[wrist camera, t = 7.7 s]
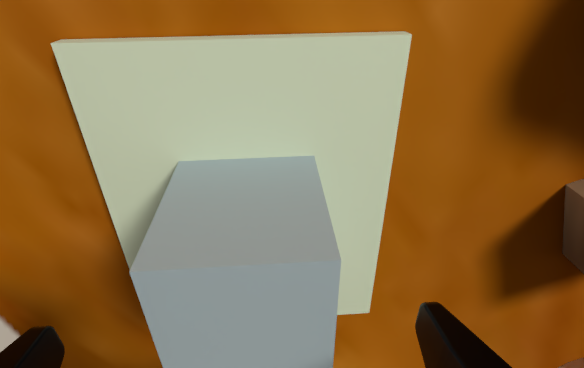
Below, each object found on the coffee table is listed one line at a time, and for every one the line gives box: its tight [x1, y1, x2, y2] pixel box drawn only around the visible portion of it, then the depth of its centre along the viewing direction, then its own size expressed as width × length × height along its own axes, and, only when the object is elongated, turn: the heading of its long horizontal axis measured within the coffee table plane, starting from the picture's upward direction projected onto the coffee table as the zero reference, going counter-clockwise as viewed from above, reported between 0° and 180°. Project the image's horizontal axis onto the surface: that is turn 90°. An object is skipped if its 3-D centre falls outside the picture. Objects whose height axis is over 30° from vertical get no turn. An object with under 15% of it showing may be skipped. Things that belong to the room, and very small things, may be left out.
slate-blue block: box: [129, 156, 341, 368], centre depth 11 cm, size 4×4×5 cm
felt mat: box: [51, 31, 412, 315], centre depth 13 cm, size 12×10×1 cm
